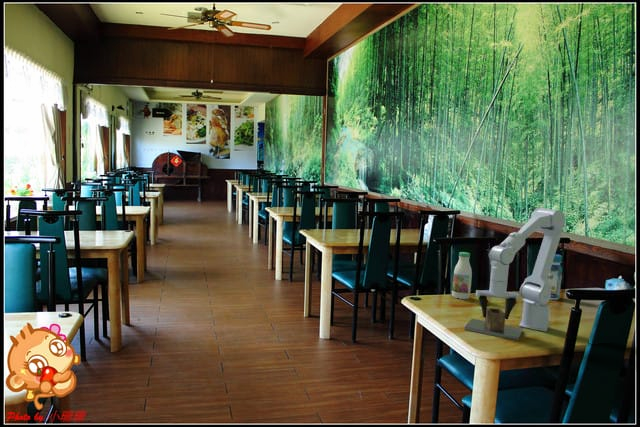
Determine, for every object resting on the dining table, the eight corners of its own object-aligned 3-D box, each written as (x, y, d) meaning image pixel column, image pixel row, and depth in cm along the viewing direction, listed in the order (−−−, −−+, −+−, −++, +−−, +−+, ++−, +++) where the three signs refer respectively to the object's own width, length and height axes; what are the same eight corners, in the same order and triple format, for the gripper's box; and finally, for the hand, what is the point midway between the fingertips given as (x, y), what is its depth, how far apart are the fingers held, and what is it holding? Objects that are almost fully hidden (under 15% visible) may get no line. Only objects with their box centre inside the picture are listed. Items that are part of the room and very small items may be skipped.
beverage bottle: (563, 300, 240) (568, 256, 238) (547, 300, 238) (552, 256, 236) (551, 295, 248) (556, 253, 246) (535, 295, 246) (540, 252, 244)
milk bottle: (456, 294, 238) (460, 250, 236) (472, 297, 233) (476, 253, 231) (448, 296, 232) (452, 252, 230) (465, 300, 227) (469, 255, 225)
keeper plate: (522, 331, 189) (524, 317, 188) (518, 340, 178) (519, 326, 178) (471, 321, 197) (472, 308, 197) (464, 329, 187) (465, 316, 186)
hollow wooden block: (498, 324, 191) (500, 308, 190) (503, 331, 184) (505, 314, 184) (484, 323, 191) (486, 307, 191) (489, 329, 184) (490, 313, 184)
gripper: (516, 279, 189) (512, 315, 191) (475, 276, 190) (472, 312, 192) (522, 283, 182) (518, 321, 184) (479, 280, 183) (476, 318, 185)
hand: (495, 317), depth 187 cm, fingers open, 7 cm apart
